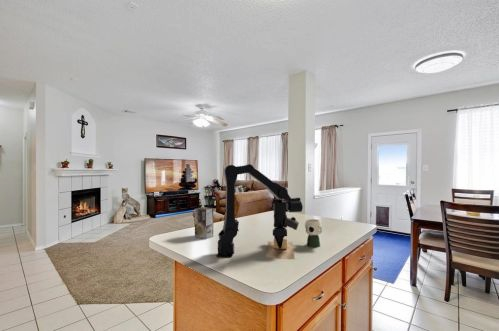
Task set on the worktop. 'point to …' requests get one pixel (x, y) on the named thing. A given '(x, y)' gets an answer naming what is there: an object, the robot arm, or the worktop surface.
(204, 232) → the coffee box
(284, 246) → the block
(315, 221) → the character mug
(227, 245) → the robot arm
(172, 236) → the worktop surface
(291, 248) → the board
